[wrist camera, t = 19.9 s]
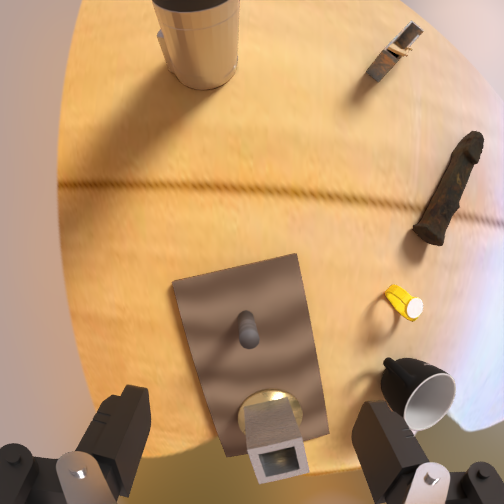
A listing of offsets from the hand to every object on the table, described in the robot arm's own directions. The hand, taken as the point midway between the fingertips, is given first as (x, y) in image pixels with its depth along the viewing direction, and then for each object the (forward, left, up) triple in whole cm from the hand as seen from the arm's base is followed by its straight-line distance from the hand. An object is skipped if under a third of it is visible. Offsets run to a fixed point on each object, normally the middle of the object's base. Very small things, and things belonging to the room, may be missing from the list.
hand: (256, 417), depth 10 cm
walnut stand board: (+6, -9, -30) cm, 32 cm away
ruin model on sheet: (+7, +44, -31) cm, 54 cm away
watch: (+21, +7, -30) cm, 37 cm away
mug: (+27, -3, -30) cm, 41 cm away
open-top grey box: (+11, -15, -27) cm, 33 cm away
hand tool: (+23, +29, -30) cm, 47 cm away
